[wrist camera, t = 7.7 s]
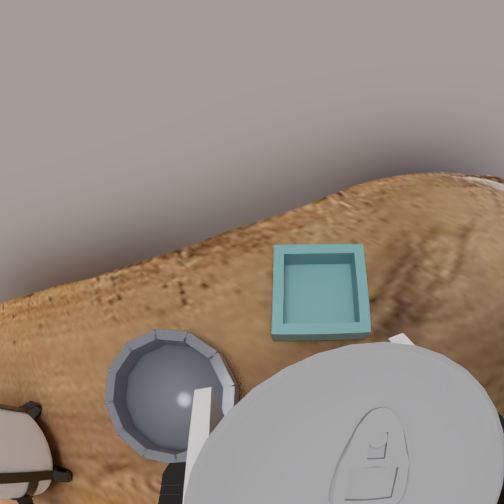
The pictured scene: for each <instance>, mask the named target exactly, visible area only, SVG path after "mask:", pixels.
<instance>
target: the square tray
mask: <svg viewBox="0 0 504 504" xmlns="http://www.w3.org/2000/svg"><path fill="white" fill-rule="evenodd" d="M370 333H371V323H370V309H369V297H368V286H367V276H366V267H365V258H364V250H363V244H313V245H274V265H273V304H272V337H273V341H322V340H351V339H364V338H365V337H367V336H368V335H369V334H370Z"/></svg>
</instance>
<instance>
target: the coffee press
mask: <svg viewBox="0 0 504 504" xmlns="http://www.w3.org/2000/svg"><path fill="white" fill-rule="evenodd" d="M32 408H34V409H33V410H32V411H31V412H30V413H29V414H27V413H26V412H27V411H29V410H31V409H32ZM40 413H41V406H40V405H39V404H37V403H35V402H34V401H29V402H28V403H26V404H25V405H23V406H21V407H15V406H9V405H3V404H0V500H1V499H12V500H17V501H18V503H19V504H34V503H33V500H32V497H33V496H34V495H38V494H41V493H43V492H44V491H45V490H46V489H47V488H48V487H49V485H50V483H51V480H57V481H62V482H70V480H71V471H69V470H67V469H64V468H61V467H57V466H55V465H53V463H52V456H51V452H50V448H49V445H48V443H47V440H46V438H45V436H44V434H43V432H42V430H41V429H40V427H39V426H38V424H37V423H36V422H35V421H34V420H35V418H36V417H37V416H38V415H39V414H40Z"/></svg>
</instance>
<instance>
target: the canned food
mask: <svg viewBox="0 0 504 504" xmlns="http://www.w3.org/2000/svg"><path fill="white" fill-rule="evenodd" d="M503 479H504V433H503V429H502V426H501V422H500V419H499V416H498V413H497V410H496V408H495V406H494V404H493V403H492V401H491V399H490V397H489V396H488V394H487V392H486V391H485V389H484V387H483V386H482V385H481V384H480V383H479V382H478V381H477V380H476V379H475V378H474V377H473V376H472V375H471V374H470V373H469V372H468V371H467V370H466V369H465V368H463V367H462V366H460V365H458V364H457V363H455V362H454V361H452V360H450V359H449V358H447V357H446V356H444V355H442V354H439V353H436V352H433V351H431V350H428V349H425V348H422V347H419V346H416V345H408V344H399V343H391V342H376V343H364V344H351V345H348V346H344V347H340V348H336V349H333V350H329V351H325V352H321V353H317V354H315V355H313V356H310V357H308V358H306V359H304V360H302V361H299V362H297V363H295V364H292V365H290V366H288V367H286V368H283V369H282V370H280V371H279V372H277V373H276V374H274V375H273V376H271V377H270V378H268V379H267V380H265V381H264V382H262V383H261V384H259V385H257V386H256V387H254V388H253V389H252V390H251V391H250V392H249V393H248V394H247V395H246V396H245V397H244V398H243V399H241V400H240V401H239V402H238V403H237V404H236V405H235V406H234V407H233V408H232V409H230V410H229V411H228V412H227V413H226V415H225V416H224V417H223V419H222V420H221V421H220V422H219V424H218V425H217V426H216V428H215V429H214V430H213V432H212V433H211V434H210V435H209V437H208V438H207V439H206V441H205V443H204V445H203V447H202V449H201V451H200V453H199V455H198V457H197V459H196V461H195V463H194V465H193V467H192V469H191V473H190V477H189V481H188V485H187V488H186V492H185V496H184V504H497V502H498V499H499V496H500V493H501V489H502V486H503Z"/></svg>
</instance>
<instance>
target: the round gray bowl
mask: <svg viewBox="0 0 504 504" xmlns="http://www.w3.org/2000/svg"><path fill="white" fill-rule="evenodd" d="M127 344H128V345H127ZM127 344H125V345H124V347H123V348H122V350H121V351H120V353H119V354H118V356H117V357H116V359H115V360H114V362H113V363H112V365H111V366H110V368H109V370H110V371H109V370H108V375H107V384H106V393H105V402H106V403H105V405H106V407H107V410H108V413H109V415H110V418H111V421H112V423H113V426H114V428H115V431H116V433H118V436H119V437H120V438H122V439H123V440H124V441H125V442H126V443H127V444H128V445H129V446H130V447H132V448H133V449H134V450H135V451H136V452H137V453H138V454H140V455H141V456H142V457H143V456H144V458H147V459H152V460H156V461H160V462H165V463H176V462H186V459H187V450H188V440H189V431H190V423H191V414H192V406H193V398H194V390H196V389H202V388H208V387H212V389H213V391H214V393H215V396H216V398H217V400H218V402H219V405H220V407H221V409H222V411H223V413H224V416H225V415H226V413H227V412H228V411H229V410H230V409H232V408H233V407H234V406H235V405H236V404H237V403H238V402H239V389H240V388H238V386H239V385H238V383H237V381H236V379H235V376H234V374H233V372H232V370H231V368H230V367H229V365H228V363H227V361H226V359H225V357H224V356H223V355H222V354H221V353H219V352H218V351H216V350H215V349H213V348H212V347H210V346H209V345H207V344H206V343H204V342H203V341H201V340H200V339H198V338H197V337H195V336H194V335H193V334H191V333H190V332H187V331H175V330H162V329H156V330H152V331H150V332H148V333H146V334H144V335H142V336H139V337H137V338H135V339H133V340H131V341H129V342H127Z"/></svg>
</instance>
